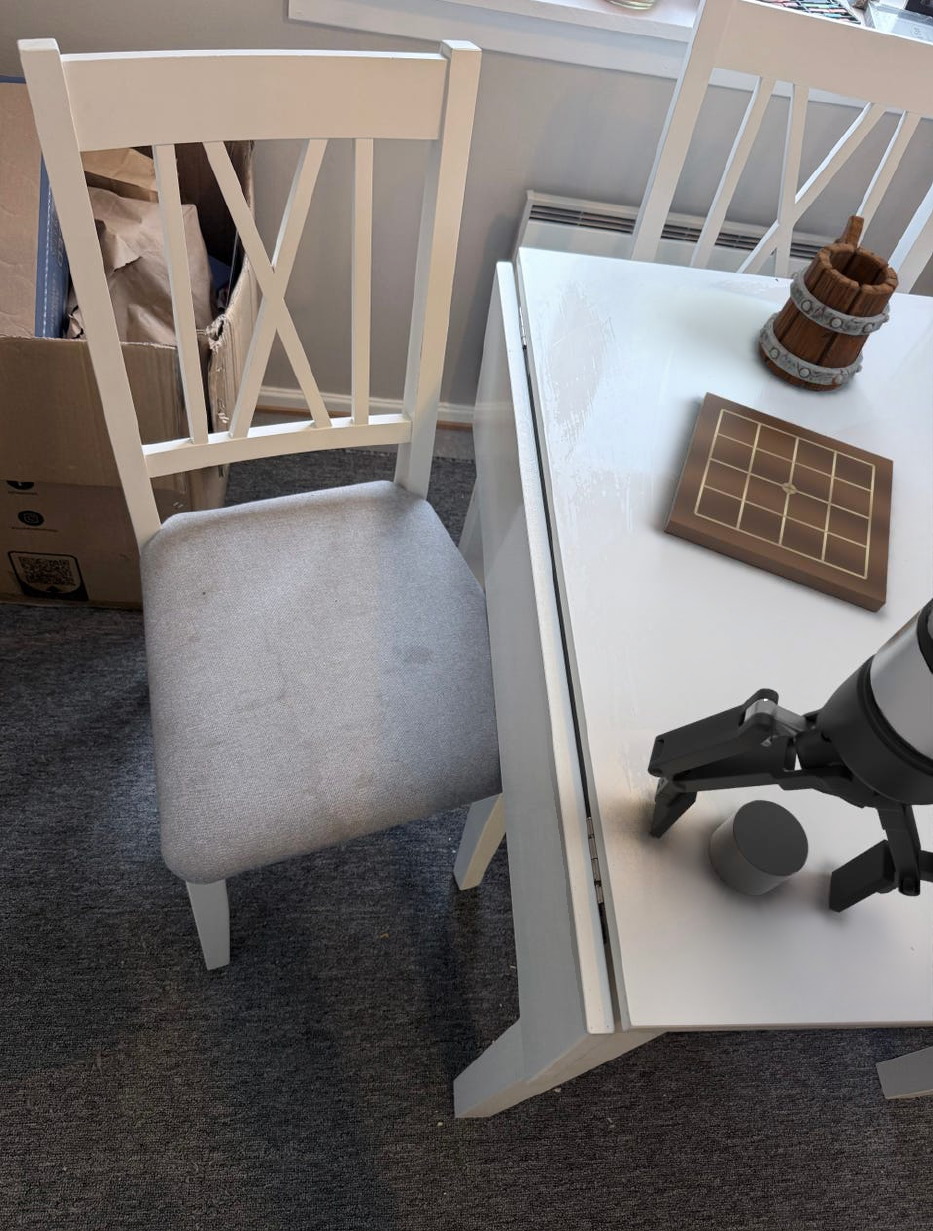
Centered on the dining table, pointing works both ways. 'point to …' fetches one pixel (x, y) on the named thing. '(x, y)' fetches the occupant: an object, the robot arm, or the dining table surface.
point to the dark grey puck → (758, 847)
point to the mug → (829, 314)
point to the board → (786, 501)
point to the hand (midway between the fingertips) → (745, 855)
